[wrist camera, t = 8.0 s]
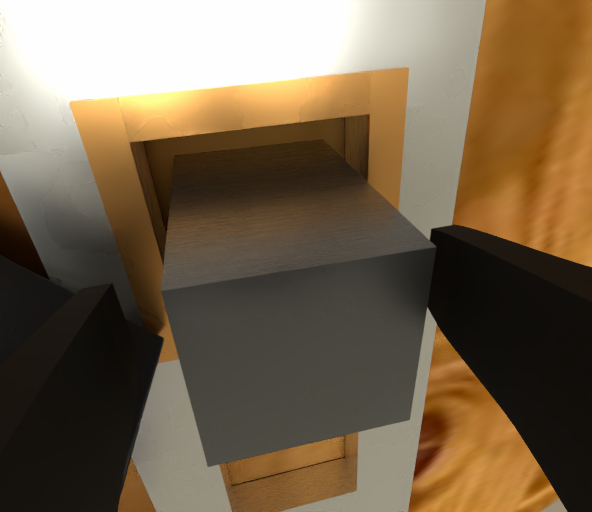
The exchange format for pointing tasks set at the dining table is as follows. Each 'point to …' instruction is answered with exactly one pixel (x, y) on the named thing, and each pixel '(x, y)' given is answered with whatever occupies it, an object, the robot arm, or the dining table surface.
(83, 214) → the rail plate
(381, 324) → the post
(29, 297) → the small box
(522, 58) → the dining table surface
